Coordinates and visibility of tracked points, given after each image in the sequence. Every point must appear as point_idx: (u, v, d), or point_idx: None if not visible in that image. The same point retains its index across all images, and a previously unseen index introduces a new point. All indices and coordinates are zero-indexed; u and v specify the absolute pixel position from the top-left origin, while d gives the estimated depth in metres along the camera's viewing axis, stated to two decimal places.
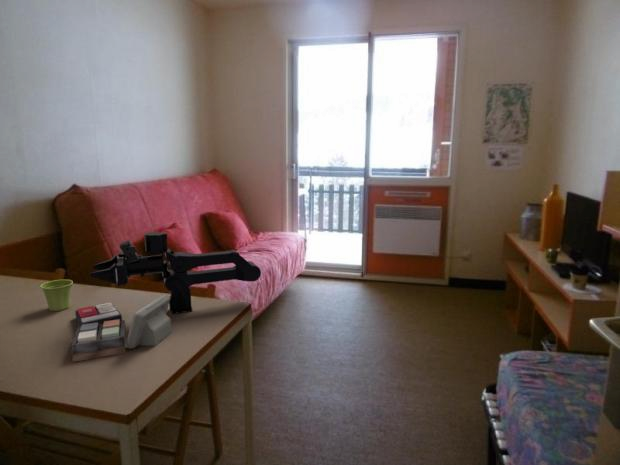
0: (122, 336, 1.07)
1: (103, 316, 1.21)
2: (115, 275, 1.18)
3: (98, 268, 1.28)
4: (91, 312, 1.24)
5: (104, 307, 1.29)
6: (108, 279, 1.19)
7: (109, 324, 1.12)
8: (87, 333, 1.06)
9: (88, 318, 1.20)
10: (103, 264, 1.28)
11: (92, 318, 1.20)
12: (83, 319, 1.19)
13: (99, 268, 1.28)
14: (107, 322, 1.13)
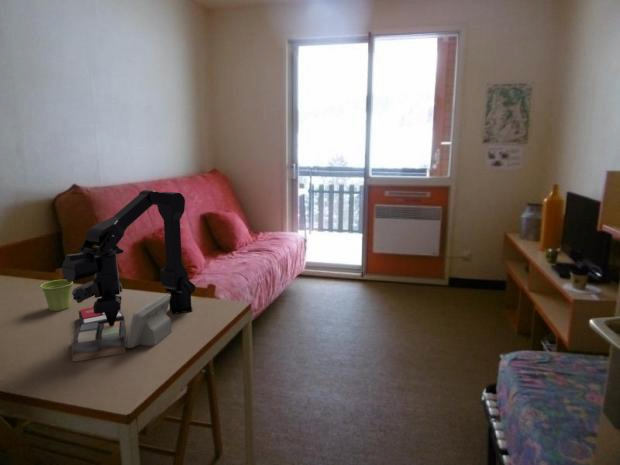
0: (122, 336, 1.07)
1: (105, 317, 1.20)
2: None
3: None
4: (94, 313, 1.24)
5: None
6: (116, 310, 1.11)
7: (109, 326, 1.12)
8: (87, 333, 1.06)
9: (90, 319, 1.19)
10: None
11: (94, 319, 1.19)
12: (85, 320, 1.18)
13: None
14: (107, 324, 1.13)
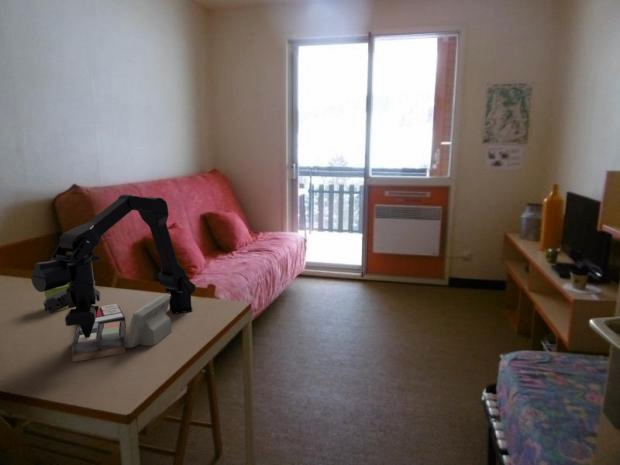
0: (122, 336, 1.07)
1: (106, 318, 1.20)
2: None
3: None
4: None
5: (109, 309, 1.28)
6: (91, 321, 1.04)
7: (109, 326, 1.12)
8: None
9: None
10: None
11: (95, 320, 1.18)
12: None
13: None
14: (107, 325, 1.13)
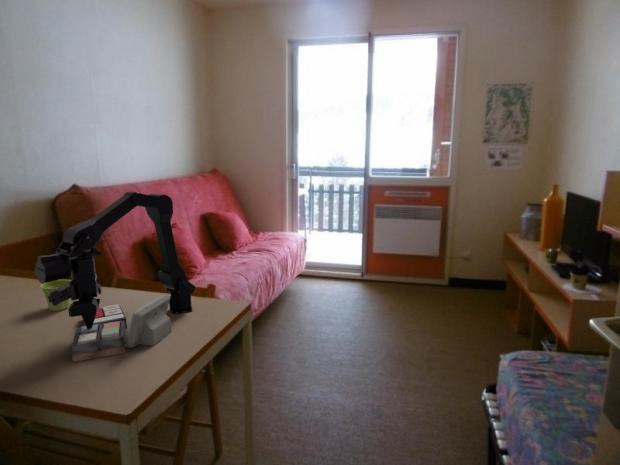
0: (122, 336, 1.07)
1: (107, 319, 1.19)
2: None
3: None
4: (97, 314, 1.23)
5: (110, 309, 1.27)
6: None
7: (109, 326, 1.12)
8: (87, 336, 1.06)
9: None
10: None
11: (96, 320, 1.18)
12: None
13: None
14: (107, 325, 1.13)
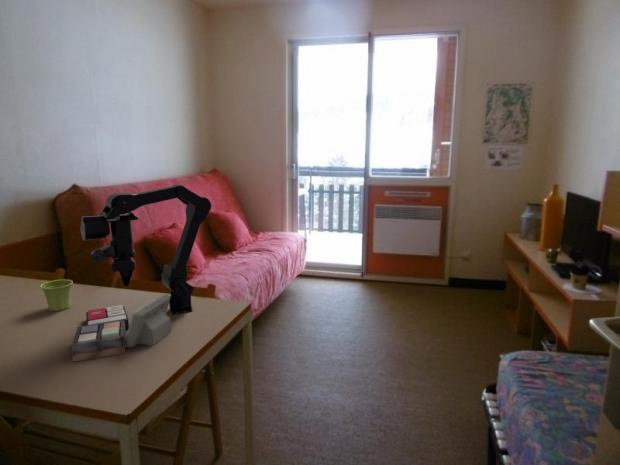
0: (122, 336, 1.07)
1: (110, 320, 1.19)
2: None
3: None
4: (100, 315, 1.22)
5: (114, 310, 1.27)
6: (130, 271, 1.21)
7: (109, 326, 1.12)
8: (87, 336, 1.06)
9: (95, 321, 1.18)
10: None
11: (98, 321, 1.17)
12: (90, 322, 1.17)
13: None
14: (107, 325, 1.13)
